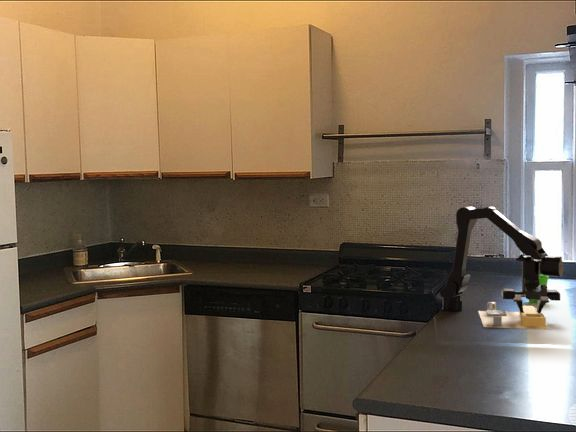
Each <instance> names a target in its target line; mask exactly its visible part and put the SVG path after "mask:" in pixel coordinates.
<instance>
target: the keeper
mask: <svg viewBox="0 0 576 432" xmlns="http://www.w3.org/2000/svg"><path fill="white" fill-rule="evenodd" d="M485 311H486V312H487V315H488V316H493V326H496V327H501V323H502V317H501V316H507V314H506V312H507V311H505V310H497V309H496V310H488V309H486V310H485Z"/></svg>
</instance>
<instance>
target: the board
mask: <svg viewBox="0 0 576 432" xmlns="http://www.w3.org/2000/svg"><path fill="white" fill-rule="evenodd" d="M477 312H478V316H479V317H480V320H481V324H482V326H483V328H499V329H501V328H502V329H525V330H526V329H532V330H536V329H537V330H551V328H550V327H549V324H548V323H546V327H534V326H523V325H522V323H521V315H520V311H505V312H506V314H507V316H501V317H502V323H501V327H496V326H493V316H488V315H487V312H486V310H478V311H477Z"/></svg>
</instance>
